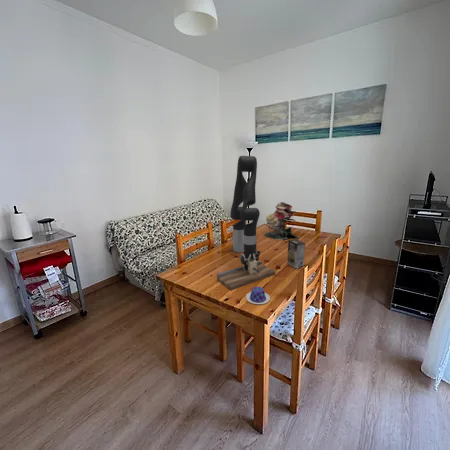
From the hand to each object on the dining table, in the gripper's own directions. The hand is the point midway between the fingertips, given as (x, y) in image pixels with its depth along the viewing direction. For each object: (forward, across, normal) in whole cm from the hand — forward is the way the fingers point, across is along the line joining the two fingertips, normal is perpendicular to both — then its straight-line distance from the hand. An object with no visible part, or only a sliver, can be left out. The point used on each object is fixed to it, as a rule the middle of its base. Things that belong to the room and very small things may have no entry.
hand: (249, 268), depth 148 cm
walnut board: (+4, +4, +2) cm, 5 cm away
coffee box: (+4, -31, +6) cm, 32 cm away
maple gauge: (+1, 0, +3) cm, 3 cm away
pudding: (+4, +12, +23) cm, 26 cm away
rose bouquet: (+4, -66, -43) cm, 79 cm away
